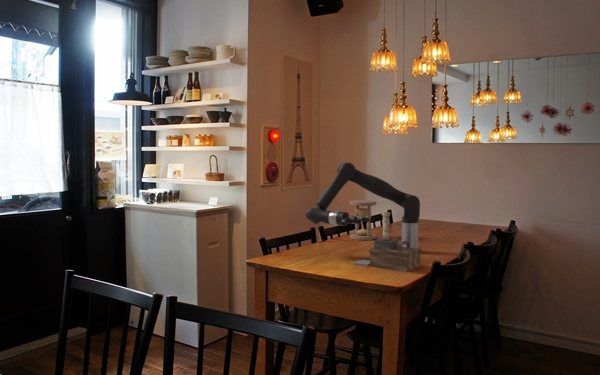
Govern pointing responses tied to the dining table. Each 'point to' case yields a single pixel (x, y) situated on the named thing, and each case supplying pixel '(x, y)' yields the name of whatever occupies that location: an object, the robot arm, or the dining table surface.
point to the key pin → (385, 225)
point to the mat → (362, 263)
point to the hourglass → (364, 212)
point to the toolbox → (394, 255)
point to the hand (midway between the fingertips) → (365, 220)
